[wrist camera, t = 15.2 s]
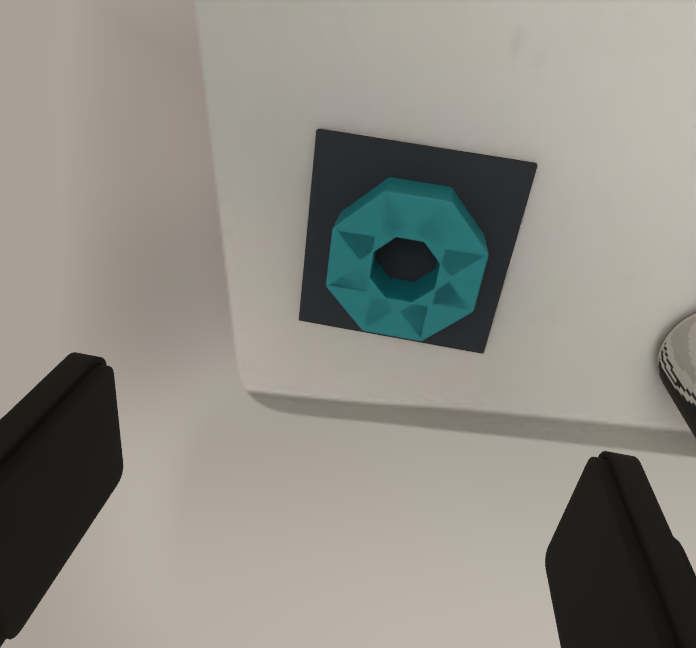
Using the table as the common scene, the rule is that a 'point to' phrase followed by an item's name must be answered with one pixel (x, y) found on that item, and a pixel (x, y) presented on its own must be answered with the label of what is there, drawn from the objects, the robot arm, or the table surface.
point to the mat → (404, 254)
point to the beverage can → (681, 368)
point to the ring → (415, 224)
